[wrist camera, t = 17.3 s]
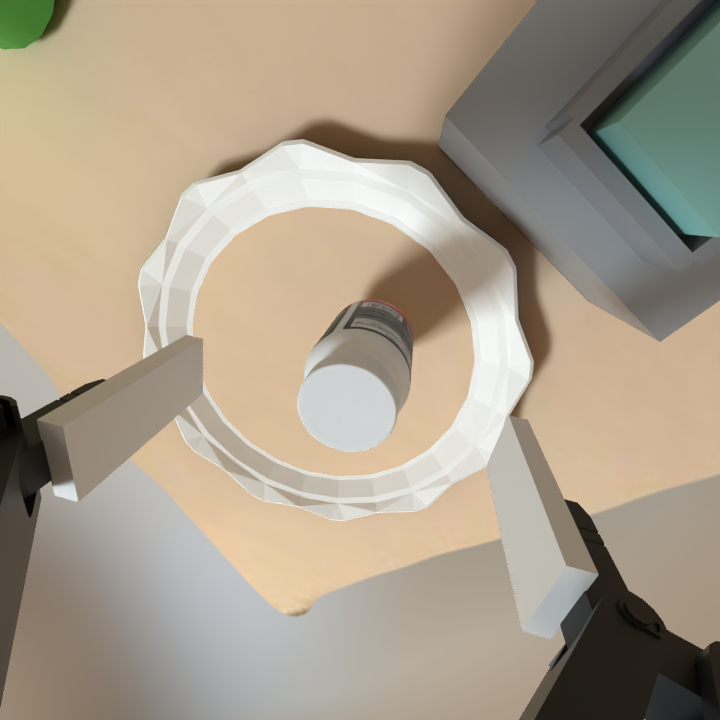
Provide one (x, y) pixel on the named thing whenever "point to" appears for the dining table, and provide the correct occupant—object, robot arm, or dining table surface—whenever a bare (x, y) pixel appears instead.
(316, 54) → the dining table surface
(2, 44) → the bottle
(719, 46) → the teal square block
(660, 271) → the housing
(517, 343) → the plate
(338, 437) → the pill bottle
